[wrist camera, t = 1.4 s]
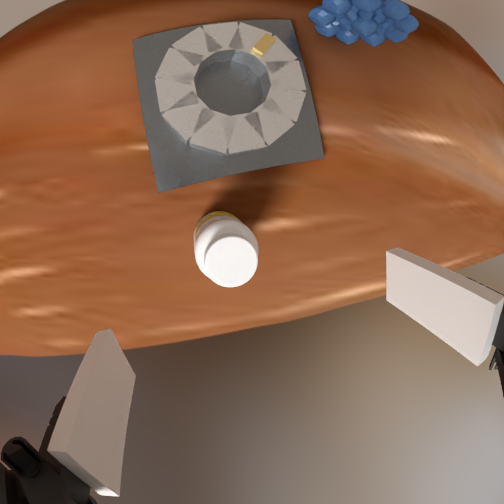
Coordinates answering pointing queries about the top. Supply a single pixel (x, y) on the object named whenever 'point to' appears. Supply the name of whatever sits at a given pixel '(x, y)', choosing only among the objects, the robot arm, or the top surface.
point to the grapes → (364, 20)
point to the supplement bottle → (225, 249)
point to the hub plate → (224, 100)
